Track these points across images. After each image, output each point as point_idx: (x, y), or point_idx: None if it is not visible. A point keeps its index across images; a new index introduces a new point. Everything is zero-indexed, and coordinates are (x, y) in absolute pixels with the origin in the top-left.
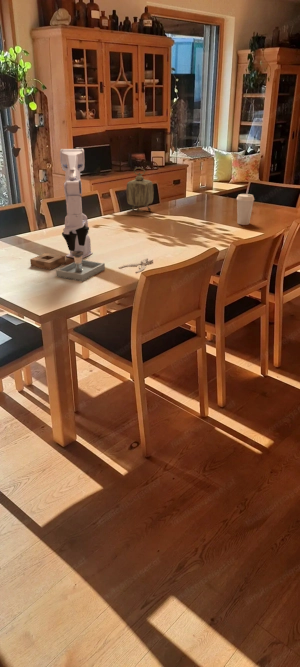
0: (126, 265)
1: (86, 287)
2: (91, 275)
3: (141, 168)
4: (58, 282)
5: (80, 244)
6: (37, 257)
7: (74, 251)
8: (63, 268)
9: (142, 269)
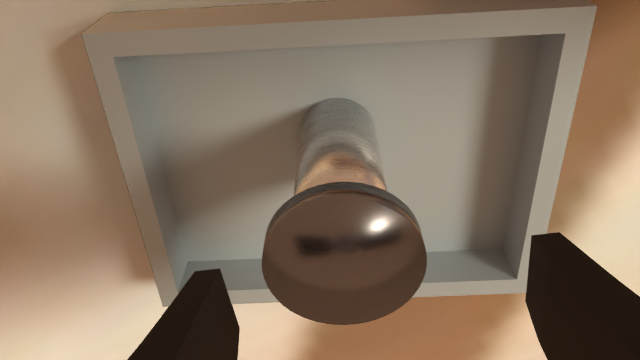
0: None
1: (113, 341)
2: None
3: None
4: (18, 135)
5: (534, 269)
6: None
7: (353, 215)
8: (199, 50)
9: None
